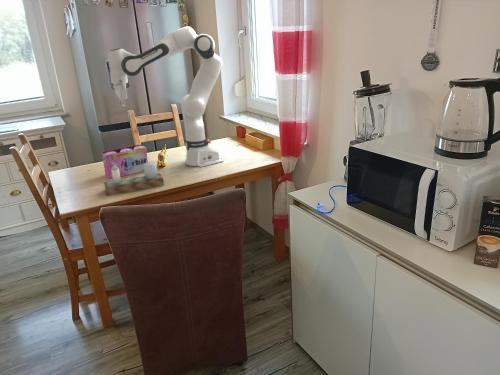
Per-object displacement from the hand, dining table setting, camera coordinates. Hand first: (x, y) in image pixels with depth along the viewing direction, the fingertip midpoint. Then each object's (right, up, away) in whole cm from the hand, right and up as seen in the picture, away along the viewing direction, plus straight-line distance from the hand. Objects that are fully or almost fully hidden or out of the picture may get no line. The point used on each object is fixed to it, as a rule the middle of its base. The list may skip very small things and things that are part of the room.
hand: (122, 105), depth 222 cm
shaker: (+5, -44, -25) cm, 51 cm away
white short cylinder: (+21, -41, -19) cm, 49 cm away
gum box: (+3, -38, +1) cm, 38 cm away
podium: (+13, -46, -20) cm, 52 cm away
